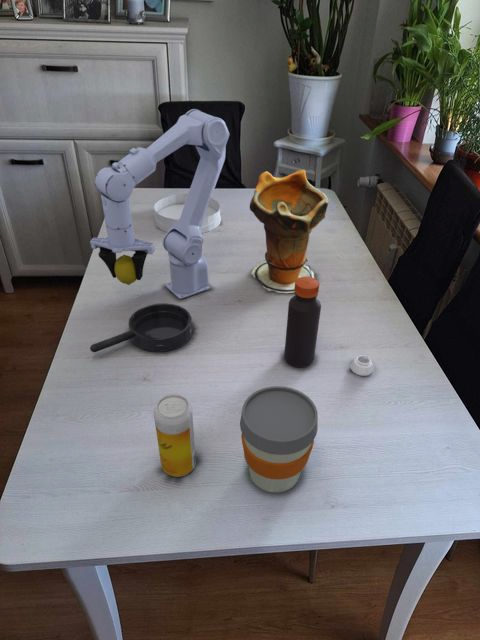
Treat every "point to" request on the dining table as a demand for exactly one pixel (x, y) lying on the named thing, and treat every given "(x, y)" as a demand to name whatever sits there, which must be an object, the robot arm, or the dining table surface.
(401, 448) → the dining table surface
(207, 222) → the dish
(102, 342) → the pan handle
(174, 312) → the pan
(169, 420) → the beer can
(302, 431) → the reusable coffee cup
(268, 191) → the decorative vase
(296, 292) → the bottle
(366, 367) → the lidless jar
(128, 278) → the lemon
